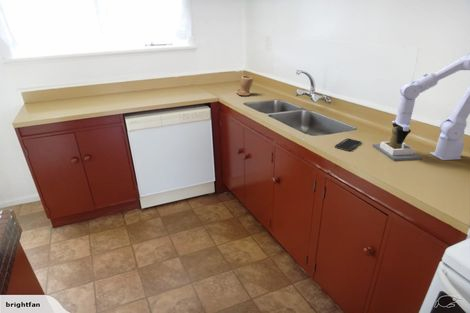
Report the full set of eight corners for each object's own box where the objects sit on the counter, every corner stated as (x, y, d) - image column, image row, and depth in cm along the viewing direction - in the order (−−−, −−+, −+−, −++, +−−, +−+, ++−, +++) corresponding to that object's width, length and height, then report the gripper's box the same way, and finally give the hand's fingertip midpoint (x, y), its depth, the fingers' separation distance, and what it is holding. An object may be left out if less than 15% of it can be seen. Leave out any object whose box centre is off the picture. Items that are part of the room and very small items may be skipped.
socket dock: (397, 145, 151) (399, 138, 150) (421, 159, 136) (423, 151, 134) (372, 146, 150) (373, 139, 148) (393, 160, 134) (395, 153, 133)
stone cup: (254, 96, 246) (254, 77, 240) (239, 97, 244) (239, 77, 238) (249, 92, 260) (249, 74, 254) (235, 93, 257) (235, 74, 251)
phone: (333, 146, 147) (347, 138, 158) (333, 148, 148) (346, 140, 158) (350, 150, 143) (362, 141, 153) (349, 152, 143) (362, 143, 153)
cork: (385, 147, 146) (390, 124, 141) (399, 148, 144) (404, 125, 140) (388, 151, 140) (393, 128, 136) (402, 153, 139) (408, 129, 135)
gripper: (391, 107, 142) (385, 135, 148) (398, 115, 129) (392, 146, 135) (408, 108, 141) (401, 136, 146) (417, 117, 128) (409, 147, 133)
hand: (398, 141), depth 140 cm, fingers closed on cork, 5 cm apart
